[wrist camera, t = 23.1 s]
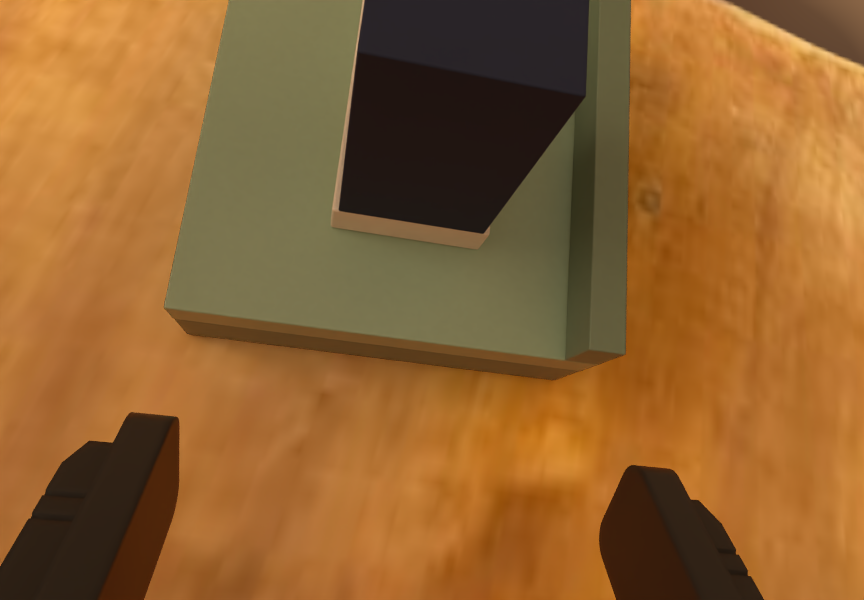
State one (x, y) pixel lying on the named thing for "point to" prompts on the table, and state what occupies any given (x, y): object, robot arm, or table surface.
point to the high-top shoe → (453, 111)
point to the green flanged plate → (385, 255)
